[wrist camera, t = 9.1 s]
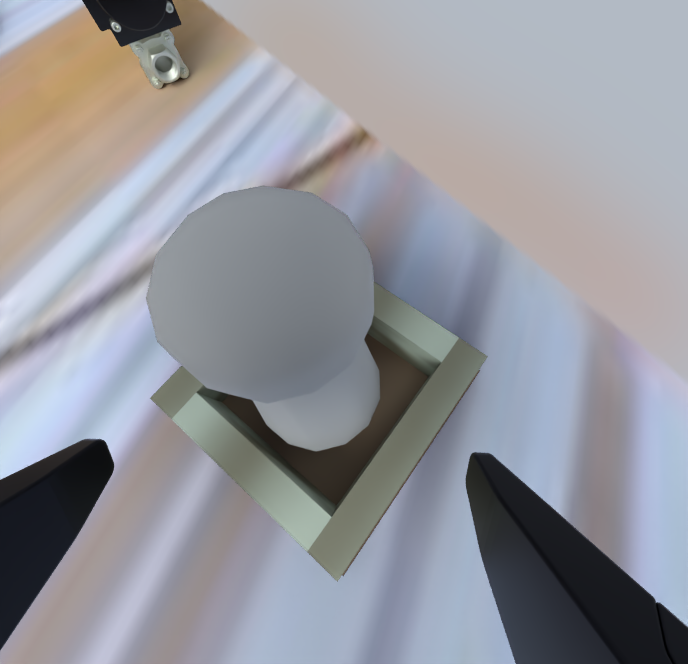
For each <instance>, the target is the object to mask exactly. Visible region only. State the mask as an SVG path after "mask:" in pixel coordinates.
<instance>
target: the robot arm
mask: <svg viewBox="0 0 688 664" xmlns="http://www.w3.org/2000/svg"><path fill="white" fill-rule="evenodd" d="M113 470H114V462H113V459H112V457H111V454H110V452H109V449H108V446H107V444H106V442H105V441H104V440H101V439H84V440H82V441H80V442H77V443H75V444H73V445H71V446H69V447H67V448H65V449H63V450H61V451H59V452H57V453H55V454H53V455H51V456H49V457H47V458H44V459H42V460H40V461H38V462H36V463H34V464H32V465H30V466H28V467H26V468H24V469H22V470H20V471H18V472H16V473H14V474H11V475H9V476H7V477H5V478H3V479H1V480H0V650H1V649H2V647H3V646H4V644H5V643H6V641H7V640H8V638H9V637H10V635H11V634H12V632H13V631H14V630H15V628H16V627H17V625H18V624H19V622H20V621H21V619H22V618H23V616H24V615H25V613H26V612H27V610H28V609H29V607H30V606H31V604H32V603H33V601H34V600H35V598H36V597H37V595H38V594H39V592H40V591H41V589H42V588H43V586H44V585H45V583H46V582H47V581H48V579H49V578H50V576H51V575H52V573H53V572H54V570H55V569H56V567H57V566H58V564H59V563H60V561H61V560H62V558H63V557H64V555H65V554H66V552H67V551H68V549H69V548H70V546H71V545H72V543H73V542H74V540H75V539H76V537H77V535H78V534H79V532H80V530H81V529H82V527H83V525H84V523H85V522H86V520H87V518H88V516H89V514H90V513H91V511H92V509H93V507H94V506H95V504H96V502H97V500H98V498H99V497H100V495H101V493H102V491H103V490H104V488H105V486H106V484H107V482H108V481H109V479H110V477H111V475H112V473H113ZM466 489H467V494H468V498H469V503H470V507H471V512H472V517H473V521H474V526H475V530H476V535H477V540H478V544H479V548H480V553H481V557H482V560H483V564H484V567H485V570H486V573H487V576H488V580H489V583H490V586H491V589H492V592H493V595H494V598H495V601H496V604H497V607H498V610H499V613H500V617H501V620H502V623H503V626H504V629H505V632H506V635H507V638H508V641H509V644H510V647H511V650H512V653H513V657H514V660H515V663H516V664H688V627H687V626H686V625H685V624H684V623H683V622H681V621H680V620H679V619H678V618H677V617H676V616H675V615H673V614H672V613H671V612H670V611H669V610H668V609H667V608H666V607H664V606H663V605H662V604H661V603H658V602H657V603H656V601H655V599H654V597H653V596H652V595H651V594H649V593H648V592H647V591H646V590H645V589H644V588H643V587H641V586H640V585H639V584H638V583H637V582H636V581H635V580H634V579H632V578H631V577H630V576H629V575H628V574H627V573H626V572H624V571H623V570H622V569H621V568H620V567H619V566H618V565H616V564H615V563H614V562H613V561H612V560H611V559H610V558H609V557H607V556H606V555H605V554H604V553H603V552H602V551H601V550H599V549H598V548H597V547H596V546H595V545H594V544H593V543H592V542H590V541H589V540H588V539H587V538H586V537H585V536H584V535H582V534H581V533H580V532H579V531H578V530H577V529H576V528H574V527H573V526H572V525H571V524H570V523H569V522H568V521H567V520H565V519H564V518H563V517H562V516H561V515H560V514H559V513H557V512H556V511H555V510H554V509H553V508H552V507H551V506H550V505H548V504H547V503H546V502H545V501H544V500H543V499H542V498H540V497H539V496H538V495H537V494H536V493H535V492H534V491H533V490H531V489H530V488H529V487H528V486H527V485H526V484H525V483H523V482H522V481H521V480H520V479H519V478H518V477H517V476H515V475H514V474H513V473H512V472H511V471H510V470H509V469H508V468H506V467H505V466H504V465H503V464H502V463H501V462H500V461H498V460H497V459H496V458H495V457H494V456H493V455H491V454H490V453H477V452H474V453H472V454H471V456H470V459H469V464H468V469H467V474H466Z"/></svg>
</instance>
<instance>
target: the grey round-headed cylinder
mask: <svg viewBox="0 0 688 664" xmlns="http://www.w3.org/2000/svg"><path fill="white" fill-rule="evenodd" d="M146 300H147V304H148V308H149V312H150V315H151V319H152V323H153V327H154V331H155V334H156V338H157V342H158V343H159V344H160V345H161V346H162V347H163V348H164V349H165V350H166V351H167V352H168V353H169V354H170V355H171V356H172V357H173V358H174V359H175V360H176V361H177V362H179V363H180V364H181V365H182V366H183V367H184V368H185V369H186V370H187V371H189V372H190V373H191V374H192V375H193V376H194V377H195V378H196V379H198V380H199V381H200V382H201V383H202V384H203V385H204V386H205V387H206V388H209V389H212V390H216V391H219V392H223V393H227V394H231V395H234V396H238V397H242V398H246V399H250V400H253V402H254V404H255V405H256V407H257V409H258V411H259V412H260V414H261V416H262V418H263V420H264V421H265V423H266V425H267V426H268V427H269V428H271V429H272V430H273V431H274V432H275V433H276V434H278V435H279V436H280V437H281V438H282V439H283V440H284V441H286V442H287V443H288V444H291V445H294V446H298V447H302V448H305V449H309V450H313V451H320V450H324V449H328V448H332V447H336V446H340V445H344V444H346V443H348V442H349V441H350V440H351V439H353V438H354V437H355V436H356V435H357V434H359V433H360V432H361V431H362V430H363V429H365V428H366V427H367V426H368V425H369V423H370V421H371V418H372V416H373V414H374V412H375V409H376V407H377V405H378V403H379V400H380V376H379V369H378V367H377V365H376V363H375V361H374V359H373V357H372V355H371V353H370V351H369V349H368V347H367V344H366V342H365V340H364V338H365V336H366V334H367V332H368V330H369V328H370V326H371V324H372V319H373V315H374V271H373V265H372V261H371V257H370V253H369V250H368V248H367V247H366V245H365V243H364V242H363V240H362V239H361V237H360V235H359V234H358V232H357V230H356V229H355V227H354V226H353V224H352V222H351V221H350V219H349V218H348V216H347V215H346V214H344V213H343V212H341V211H340V210H338V209H336V208H335V207H333V206H332V205H330V204H329V203H327V202H325V201H324V200H322V199H321V198H319V197H318V196H316V195H314V194H313V193H309V192H303V191H296V190H289V189H282V188H275V187H268V186H260V187H254V188H249V189H244V190H239V191H234V192H229V193H223V194H222V195H220V196H218V197H217V198H215V199H214V200H212V201H210V202H209V203H207V204H205V205H204V206H202V207H200V208H199V209H197V210H195V211H194V212H192V213H191V214H189V215H188V216H187V217H186V218H185V219H184V221H183V222H182V223H181V224H180V226H179V227H178V228H177V229H176V231H175V232H174V233H173V234H172V236H171V237H170V238H169V239H168V241H167V242H166V243H165V244H164V245H163V247H162V248H161V249H160V251H159V252H158V253H157V254H156V258H155V262H154V266H153V271H152V275H151V279H150V283H149V288H148V292H147V296H146Z"/></svg>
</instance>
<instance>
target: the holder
mask: <svg viewBox="0 0 688 664" xmlns="http://www.w3.org/2000/svg"><path fill="white" fill-rule="evenodd" d="M364 340H365V342H366V344H367V347H368V349H369V351H370V353H371V355H372V357H373V359H374V361H375V363H376V365H377V367H378V369H379V376H380V400H379V403H378V405H377V407H376V409H375V412H374V414H373V416H372V418H371V421H370V423H369V425H368V426H367V427H366V428H365V429H363V430H362V431H361V432H360V433H359V434H357V435H356V436H355V437H354V438H353V439H351V440H350V441H349V442H348V443H346V444H344V445H340V446H336V447H332V448H328V449H324V450H320V451H313V450H309V449H305V448H302V447H298V446H294V445H291V444H288V443H287V442H286V441H284V440H283V439H282V438H281V437H280V436H279V435H278V434H276V433H275V432H274V431H273V430H272V429H271V428H269V427H268V426H267V425H266V423H265V421H264V420H263V418H262V416H261V414H260V412H259V411H258V409H257V407H256V405H255V404H254V402H253V400H250V399H246V398H242V397H238V396H234V395H231V394H227V393H223V392H219V391H216V390H212V389H209V388H206V387H205V386H204V385H203V384H202V383H201V382H200V381H199V380H198V379H196V378H195V377H194V376H193V375H192V374H191V373H190V372H189V371H187V370H186V369H185V368H184V367H183V366H181V367H180V368H179V369H178V370H177V371H176V372H175V373H174V374H173V375H172V376H171V377H170V378H169V379H168V380H167V381H166V382H165V383H164V384H163V385H162V386H161V388H160V389H159V390H158V391H157V392H156V393H155V394H154V395H153V396H152V397H151V398H150V399H151V400H152V401H153V402H154V403H155V404H156V405H158V406H159V407H160V408H161V409H162V410H163V411H164V412H165V413H166V414H167V415H168V416H169V417H170V418H171V419H172V420H173V421H174V422H175V423H176V424H177V425H178V426H179V427H180V428H181V429H182V430H183V431H184V432H185V433H186V434H187V435H188V436H189V437H190V438H191V439H192V440H193V441H194V442H195V443H196V444H197V445H198V446H199V447H200V448H201V449H202V450H203V451H204V452H206V453H207V454H208V455H209V456H210V457H211V458H212V459H213V460H214V461H215V462H216V463H217V464H218V465H219V466H220V467H221V468H222V469H223V470H224V471H225V472H226V473H227V474H228V475H229V476H230V477H231V478H232V479H233V480H234V481H235V482H236V483H237V484H238V485H239V486H240V487H241V488H242V489H243V490H244V491H245V492H246V493H247V494H248V495H249V496H250V497H251V498H252V499H254V500H255V501H256V502H257V503H258V504H259V505H260V506H261V507H262V508H263V509H264V510H265V511H266V512H267V513H268V514H269V515H270V516H271V517H272V518H273V519H274V520H275V521H276V522H277V523H278V524H279V525H280V526H281V527H282V528H283V529H284V530H285V531H286V532H287V533H288V534H289V535H290V536H291V537H292V538H293V539H294V540H295V541H296V542H297V543H298V544H299V545H300V546H301V547H303V548H304V549H305V550H306V551H307V552H308V553H309V554H310V555H311V556H312V557H313V558H314V559H315V560H316V561H317V562H318V563H319V564H320V565H321V566H322V567H323V568H324V569H325V570H326V571H327V572H328V573H329V574H330V575H331V576H332V577H333V578H334V579H335V580H336V581H337V582H338V580H339V579H340V577H341V576H342V575H343V576H344V574H345V573H346V571H347V570H348V568H349V567H350V565H351V564H352V562H353V561H354V559H355V558H356V556H357V555H358V553H359V552H360V550H361V549H362V547H363V546H364V544H365V543H366V541H367V540H368V538H369V537H370V535H371V534H372V532H373V531H374V529H375V528H376V526H377V525H378V523H379V522H380V520H381V518H382V517H383V515H384V514H385V512H386V511H387V509H388V508H389V506H390V505H391V503H392V502H393V500H394V499H395V497H396V496H397V494H398V493H399V491H400V490H401V488H402V487H403V485H404V484H405V482H406V481H407V479H408V478H409V476H410V475H411V473H412V472H413V470H414V469H415V467H416V466H417V464H418V463H419V461H420V460H421V458H422V457H423V455H424V454H425V452H426V451H427V449H428V448H429V446H430V445H431V443H432V442H433V440H434V439H435V437H436V436H437V434H438V433H439V431H440V430H441V428H442V427H443V425H444V424H445V422H446V421H447V419H448V418H449V416H450V415H451V413H452V412H453V410H454V409H455V407H456V406H457V404H458V403H459V401H460V400H461V398H462V397H463V395H464V394H465V392H466V391H467V389H468V388H469V386H470V385H471V383H472V382H473V380H474V379H475V377H476V376H477V374H478V373H479V371H480V370H479V369H480V367H481V366H482V364H483V363H484V361H485V360H486V358H487V357H488V356H486V355H485V354H483V353H482V352H480V351H479V350H477V349H475V348H474V347H472V346H471V345H469V344H468V343H466V342H465V341H463V340H462V339H460V338H459V337H457V336H456V335H454V334H453V333H451V332H450V331H448V330H447V329H445V328H444V327H442V326H441V325H439V324H438V323H436V322H434V321H433V320H431V319H430V318H428V317H427V316H425V315H424V314H422V313H421V312H419V311H418V310H416V309H415V308H413V307H412V306H410V305H409V304H407V303H406V302H404V301H403V300H401V299H400V298H398V297H396V296H395V295H393V294H392V293H390V292H389V291H387V290H386V289H384V288H383V287H381V286H380V285H378V284H377V283H375V282H374V315H373V319H372V324H371V326H370V328H369V330H368V332H367V334H366V336H365V338H364Z"/></svg>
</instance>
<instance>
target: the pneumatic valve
mask: <svg viewBox="0 0 688 664" xmlns="http://www.w3.org/2000/svg"><path fill="white" fill-rule="evenodd" d="M82 1H83V2H84V4H85V6H86V7H87V9H88V10H89V12H90V14H91V15H92V17H93V19H94V20H95V22H96V24H97V25H98V27H99V29H100V30H101V31H105V30H107V29H110V30H111V31H112V33H113V34H114V36H115V38H116V40H117V41H118V43H119V45H120V46H121V47H123V46H125V45H128V44H129V45H130V47H131V49H132V51H133V52H134V54H135V55H137V56H138V57H139V59H140V65H141V67H142V69H143V71H144V72H145V74H146V76H147V78H148V79H149V81H150V83H151V84H152V86H153V87H154V88H157V89H160V88H162V86H163V83H170V82H173V81H175V80H177V79H178V78H179V77H181V78H187V77H188V76H189V70H188V68H187V67H186V65H185V64H184V62H183V61H182V59H181V57H180V54H179V52H178V51H177V49H176V47H175V46H174V36H173V34H172V33H171V31H170V30H169V29H171V28H173V27H176V26H179V25H181V21H180V19H179V16H178V14H177V11H176V9H175V6H174V4H173V2H172V0H82Z"/></svg>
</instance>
